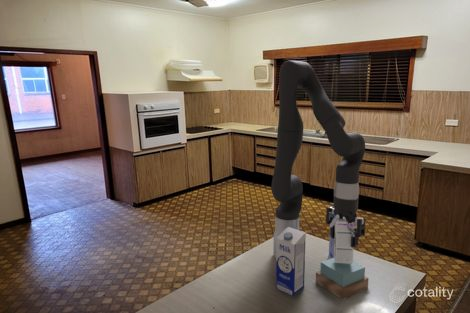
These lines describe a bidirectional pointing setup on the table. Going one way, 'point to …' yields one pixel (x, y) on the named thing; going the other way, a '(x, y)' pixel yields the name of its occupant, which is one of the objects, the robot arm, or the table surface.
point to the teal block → (342, 272)
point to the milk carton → (290, 261)
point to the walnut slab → (339, 290)
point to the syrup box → (342, 242)
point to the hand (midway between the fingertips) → (343, 242)
